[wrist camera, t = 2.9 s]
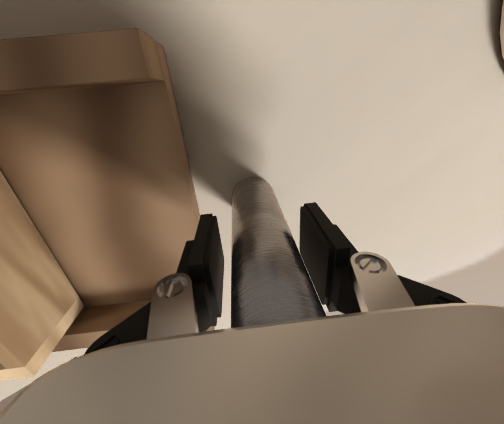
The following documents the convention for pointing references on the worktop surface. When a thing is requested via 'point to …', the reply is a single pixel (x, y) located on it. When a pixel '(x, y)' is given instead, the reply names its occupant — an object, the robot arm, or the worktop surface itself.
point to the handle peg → (266, 262)
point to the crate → (29, 293)
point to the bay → (98, 166)
